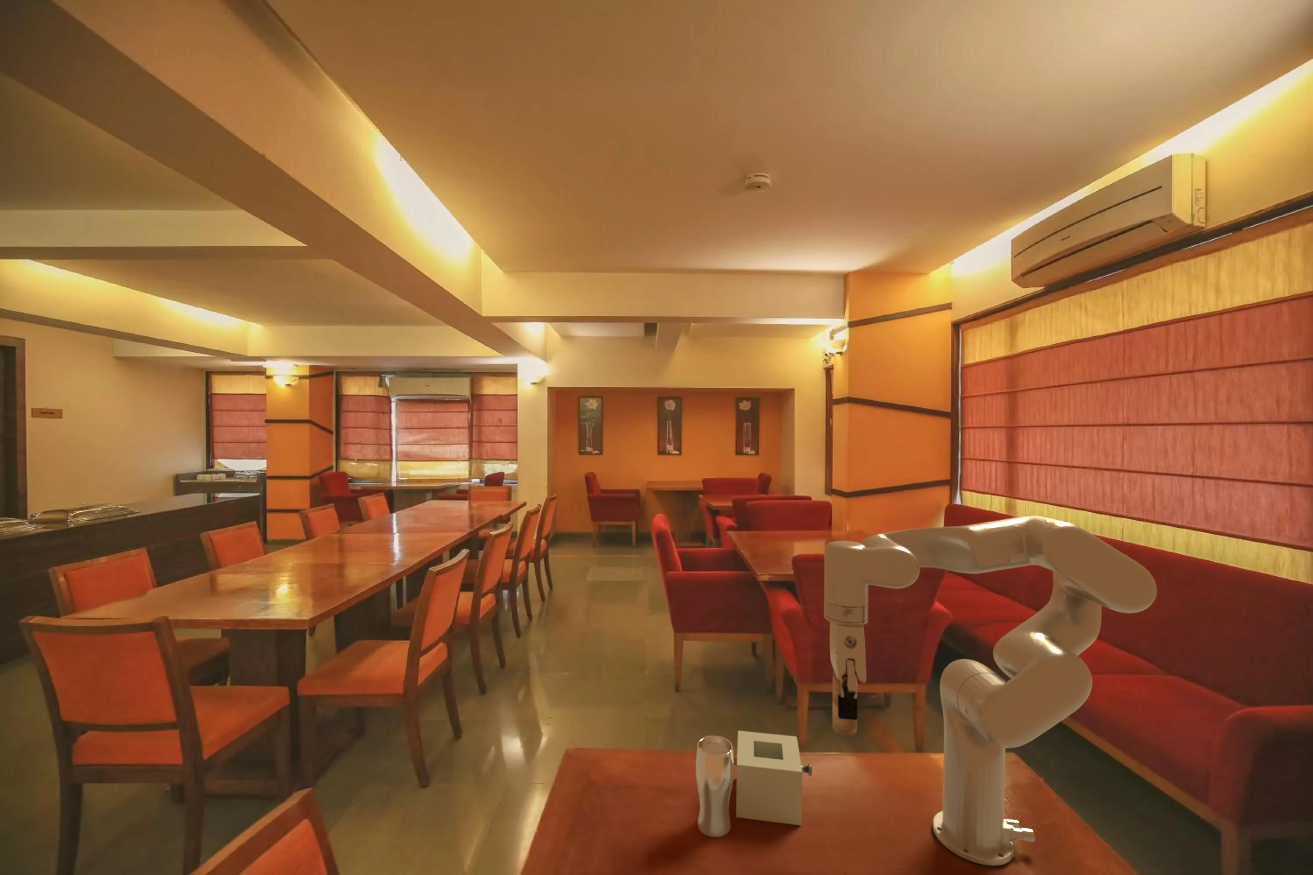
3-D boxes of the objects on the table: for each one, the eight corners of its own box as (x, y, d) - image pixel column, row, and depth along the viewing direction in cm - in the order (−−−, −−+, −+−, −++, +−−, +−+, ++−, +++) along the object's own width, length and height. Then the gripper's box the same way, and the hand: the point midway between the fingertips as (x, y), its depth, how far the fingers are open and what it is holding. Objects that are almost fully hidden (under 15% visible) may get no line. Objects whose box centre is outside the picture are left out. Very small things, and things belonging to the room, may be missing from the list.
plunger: (777, 775, 107) (778, 763, 107) (777, 768, 110) (777, 756, 110) (811, 779, 106) (812, 767, 106) (810, 771, 109) (810, 759, 108)
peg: (854, 723, 101) (854, 669, 101) (859, 736, 97) (859, 679, 97) (830, 721, 102) (831, 668, 102) (834, 733, 98) (834, 678, 98)
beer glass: (731, 842, 97) (732, 758, 97) (692, 835, 99) (693, 753, 99) (734, 815, 104) (735, 737, 104) (697, 809, 106) (698, 732, 105)
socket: (795, 784, 114) (796, 736, 114) (801, 825, 102) (802, 771, 102) (737, 777, 116) (738, 730, 116) (736, 816, 104) (736, 764, 104)
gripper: (878, 628, 90) (877, 738, 91) (858, 598, 107) (857, 691, 107) (831, 625, 92) (830, 734, 92) (818, 596, 108) (817, 688, 108)
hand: (845, 710), depth 99 cm, fingers closed on peg, 4 cm apart
